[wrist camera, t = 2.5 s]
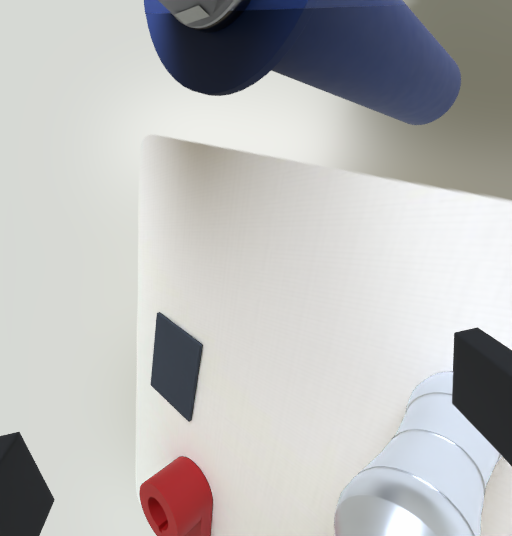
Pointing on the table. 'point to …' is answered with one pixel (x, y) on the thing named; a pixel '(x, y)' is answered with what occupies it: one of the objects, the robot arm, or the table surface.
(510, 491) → the table surface
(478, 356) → the robot arm
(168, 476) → the lever
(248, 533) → the table surface
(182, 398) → the mat
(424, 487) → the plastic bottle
